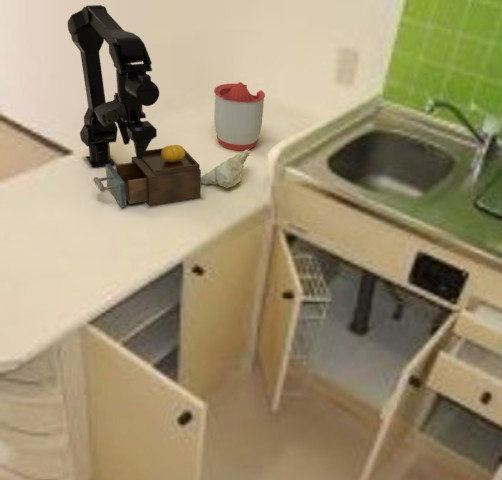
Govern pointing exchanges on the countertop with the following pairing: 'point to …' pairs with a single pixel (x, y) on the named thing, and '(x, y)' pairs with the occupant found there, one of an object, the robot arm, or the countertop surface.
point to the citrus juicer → (238, 116)
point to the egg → (173, 153)
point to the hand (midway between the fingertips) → (132, 151)
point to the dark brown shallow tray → (163, 167)
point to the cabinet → (170, 185)
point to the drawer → (125, 183)
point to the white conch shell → (227, 171)
